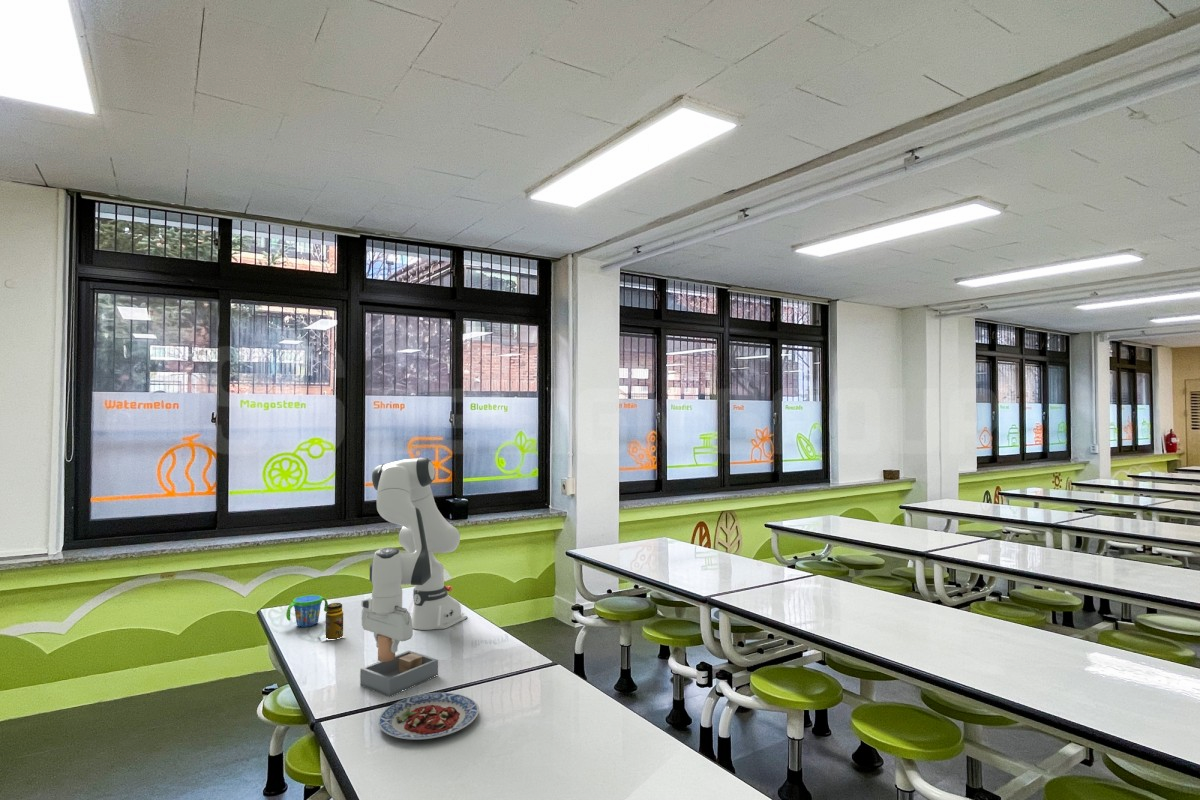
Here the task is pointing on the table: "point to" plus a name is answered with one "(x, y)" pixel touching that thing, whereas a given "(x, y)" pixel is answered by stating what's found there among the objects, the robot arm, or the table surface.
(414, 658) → the walnut cube
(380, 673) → the tote
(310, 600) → the snack cup
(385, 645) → the terracotta cylinder
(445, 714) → the ceramic plate
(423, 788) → the table surface
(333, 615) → the condiment
